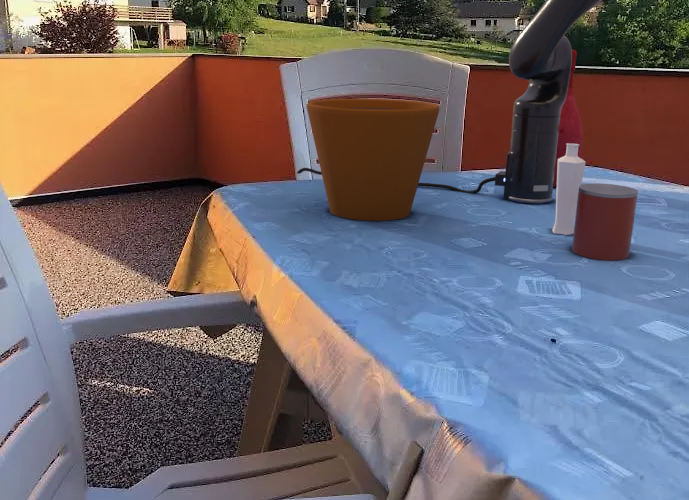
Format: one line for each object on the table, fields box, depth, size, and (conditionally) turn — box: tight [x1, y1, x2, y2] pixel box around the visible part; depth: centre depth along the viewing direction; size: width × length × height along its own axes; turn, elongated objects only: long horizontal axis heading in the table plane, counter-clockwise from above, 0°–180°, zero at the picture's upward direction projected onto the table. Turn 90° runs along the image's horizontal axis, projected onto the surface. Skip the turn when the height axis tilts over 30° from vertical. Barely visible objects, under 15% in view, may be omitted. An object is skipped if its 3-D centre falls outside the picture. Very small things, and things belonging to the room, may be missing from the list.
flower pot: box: [306, 98, 440, 222], centre depth 130 cm, size 24×24×20 cm
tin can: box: [571, 183, 639, 261], centre depth 108 cm, size 8×8×10 cm
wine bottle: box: [553, 48, 584, 188], centre depth 159 cm, size 10×10×30 cm
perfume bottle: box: [552, 143, 586, 236], centre depth 119 cm, size 5×4×15 cm
